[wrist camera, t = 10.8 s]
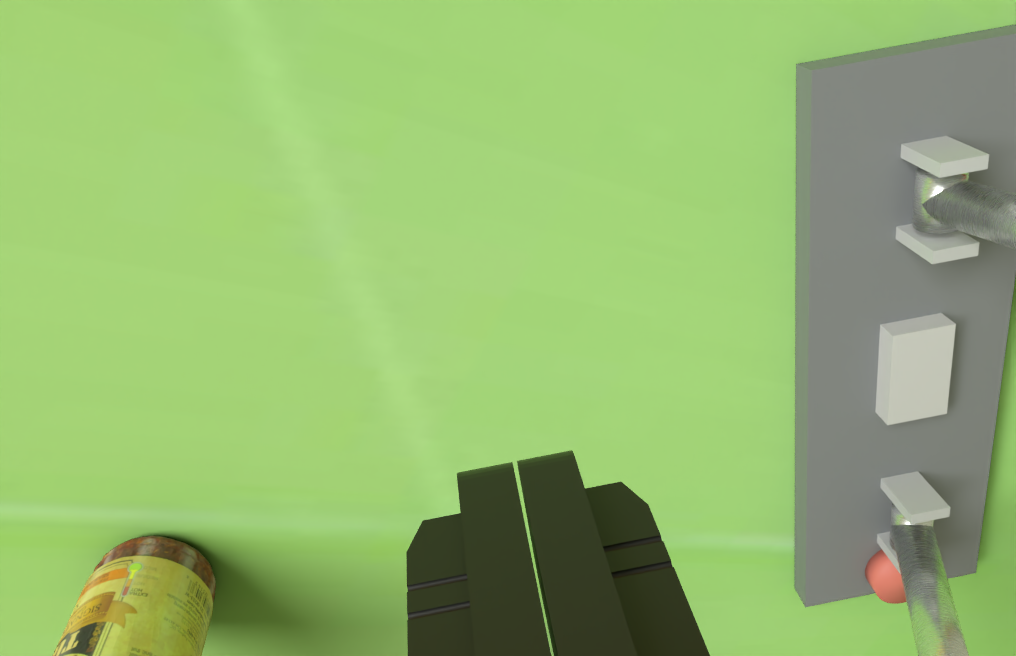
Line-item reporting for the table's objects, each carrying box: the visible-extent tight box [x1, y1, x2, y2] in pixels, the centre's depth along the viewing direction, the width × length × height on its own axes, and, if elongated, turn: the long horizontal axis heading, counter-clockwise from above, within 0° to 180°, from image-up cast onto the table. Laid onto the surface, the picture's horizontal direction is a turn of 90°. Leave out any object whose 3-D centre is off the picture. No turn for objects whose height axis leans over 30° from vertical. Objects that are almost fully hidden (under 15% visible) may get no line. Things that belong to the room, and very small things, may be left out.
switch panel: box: [795, 25, 1016, 607], centre depth 41 cm, size 10×30×4 cm, turn 9°
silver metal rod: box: [889, 503, 969, 656], centre depth 39 cm, size 4×4×17 cm
